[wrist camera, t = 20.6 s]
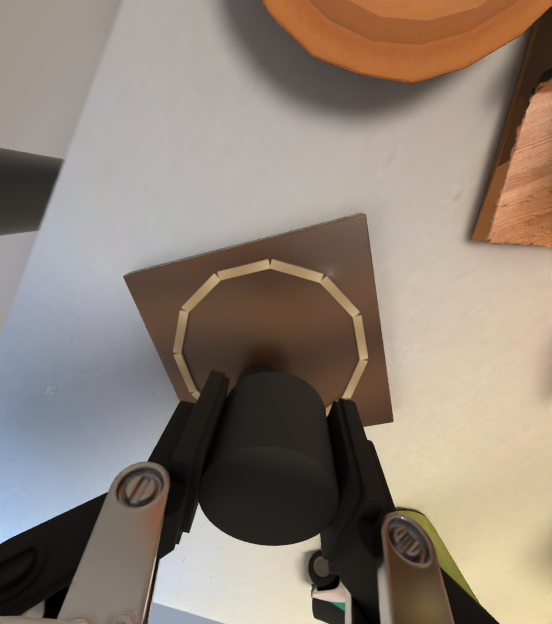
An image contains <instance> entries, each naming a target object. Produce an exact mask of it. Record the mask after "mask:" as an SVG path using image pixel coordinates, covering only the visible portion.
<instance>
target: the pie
mask: <svg viewBox="0 0 552 624" xmlns="http://www.w3.org/2000/svg"><path fill="white" fill-rule="evenodd" d="M262 2H263V4H264V5H265V7H266V9H267V11H268V12H269V14H270V15H271V16H272V17H273V18H274V19H275V20H276V21H277V22H278V23H279V24H280V25H281V26H282V27H283V28H284V29H285V30H286V31H287V32H288V33H289V34H290V35H291V36H292V37H293V38H294V39H295V40H296V41H297V42H298V43H299V44H300V45H301V46H302V47H303V48H304V49H305V50H306V51H307V52H308V53H309V54H310V55H311V56H312V57H314V58H317V59H320V60H323V61H325V62H328V63H331V64H333V65H336V66H339V67H342V68H344V69H347V70H350V71H352V72H355V73H358V74H361V75H365V76H371V77H377V78H383V79H389V80H394V81H400V82H406V83H415V82H419V81H422V80H426V79H429V78H433V77H436V76H439V75H443V74H446V73H450V72H453V71H457V70H460V69H464V68H467V67H468V66H470V65H472V64H474V63H475V62H477V61H479V60H480V59H482V58H484V57H485V56H487V55H489V54H490V53H492V52H494V51H495V50H497V49H499V48H500V47H502V46H504V45H506V44H507V43H509V42H511V41H512V40H514V39H516V38H517V37H519V36H520V35H521V34H522V33H523V32H524V31H525V30H526V29H528V28H529V27H530V26H531V25H532V24H533V23H534V22H535V21H536V20H537V19H538V18H539V17H540V16H541V15H542V14H543V13H545V12H546V11H547V10H548V9H549V8H550V7H551V6H552V0H262Z"/></svg>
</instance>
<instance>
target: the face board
mask: <svg viewBox="0 0 552 624" xmlns="http://www.w3.org/2000/svg"><path fill="white" fill-rule="evenodd" d="M123 277H124V279H125V282H126V284H127V286H128V288H129V290H130V293H131V295H132V297H133V299H134V301H135V304H136V306H137V308H138V310H139V312H140V315H141V317H142V319H143V321H144V323H145V326H146V328H147V330H148V332H149V334H150V337H151V339H152V341H153V343H154V345H155V348H156V350H157V352H158V354H159V356H160V359H161V361H162V363H163V365H164V367H165V370H166V372H167V374H168V376H169V378H170V381H171V383H172V385H173V387H174V389H175V392H176V394H177V396H178V398H179V400H180V401H182V400H183V401H188V402H192V403H196V402H197V400H198V398H199V396H200V394H201V391H202V389H203V387H204V385H205V383H206V381H207V378H208V376H209V374H210V372H211V370H214V371H219V372H223V373H226V375H225V377H228V378H230V382H229V387H228V392H227V395H228V393H229V392H230V391H231V389H232V388H233V387H234V386H235V385H236V382H237V379H238V377H239V376H240V374H241V373H242V372H243V371H244V370H246V369H248V368H250V367H253V366H257V365H265V366H270V367H273V368H275V369H277V370H278V371H280V372H283V373H288V374H291V375H295V376H297V377H299V378H301V379H303V380H305V381H306V382H308V383H309V384H310V385H311V386H313V387H314V389H315V390H316V391H317V392H318V393H319V395H320V396H321V398H322V400H323V402H324V405H325V410H326V416H327V417H328V414H329V411H330V409H331V406H332V403H333V401H338V400H339V398H343V399H347V400H352V401H355V403H356V406H357V409H358V412H359V415H360V419H361V422H362V425H363V427H366V426H372V425H378V424H384V423H390V422H393V414H392V407H391V399H390V392H389V384H388V377H387V369H386V362H385V354H384V347H383V339H382V332H381V324H380V317H379V309H378V302H377V294H376V287H375V279H374V272H373V264H372V257H371V249H370V242H369V234H368V227H367V219H366V214H363V213H360V214H356V215H352V216H348V217H344V218H340V219H336V220H332V221H329V222H325V223H321V224H317V225H313V226H309V227H305V228H301V229H297V230H294V231H290V232H286V233H282V234H278V235H274V236H270V237H266V238H262V239H258V240H255V241H251V242H247V243H243V244H239V245H235V246H231V247H227V248H223V249H219V250H216V251H212V252H208V253H204V254H200V255H196V256H192V257H188V258H184V259H180V260H177V261H173V262H169V263H165V264H161V265H157V266H153V267H149V268H145V269H141V270H138V271H134V272H130V273H128V274H126V275H124V276H123Z"/></svg>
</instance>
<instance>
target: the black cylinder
mask: <svg viewBox="0 0 552 624" xmlns="http://www.w3.org/2000/svg"><path fill="white" fill-rule="evenodd" d="M198 500H199V504H200V506H201V509H202V511H203V512H204V514H205V516H206V517H207V518H208V519H209V521H210V522H211V523H212V524H214V525H215V526H216V527H217V528H218V529H220V530H221V531H223V532H224V533H226V534H228V535H230V536H232V537H234V538H236V539H239V540H242V541H245V542H248V543H253V544H258V545H267V546H280V545H289V544H295V543H299V542H302V541H305V540H308V539H310V538H312V537H314V536H316V535H318V534H319V533H321V532H322V531H323V530H325V529H326V528H327V527H328V526H329V525H330V524H331V522H332V521H333V519H334V517H335V515H336V512H337V510H338V508H339V503H340V494H339V488H338V482H337V476H336V470H335V464H334V458H333V452H332V446H331V440H330V434H329V428H328V422H327V416H326V410H325V405H324V402H323V400H322V398H321V396H320V395H319V393H318V392H317V391H316V390H315V389H314V387H313V386H311V385H310V384H309V383H308V382H306V381H305V380H303V379H301V378H299V377H297V376H295V375H291V374H288V373H283V372H261V373H257V374H254V375H251V376H249V377H247V378H245V379H243V380H241V381H240V382H239V383H237V384H236V385H235V386H234V387H233V388H232V389H231V391H230V392H229V393H228V395H227V397H226V401H225V404H224V407H223V410H222V413H221V416H220V419H219V423H218V426H217V429H216V432H215V435H214V438H213V441H212V444H211V447H210V450H209V454H208V457H207V460H206V463H205V466H204V469H203V472H202V476H201V480H200V485H199V491H198Z"/></svg>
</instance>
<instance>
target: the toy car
mask: <svg viewBox="0 0 552 624" xmlns="http://www.w3.org/2000/svg"><path fill="white" fill-rule="evenodd" d="M308 570H309V575H310V578H311V580H312V582H313V583H314V584H312V590H311V598H312V610H313V616H314V618H316V619H317V620H320V621H323V622H326V623H328V624H345V591H346V588H345V587H344V585H343V584H342V583H341V580H340V575H335V574H330V573H329V569H328V560H325V559H323V556H322V551H319V552H316V553H314V554H313V555H312V557H311V558H310V561H309V566H308Z"/></svg>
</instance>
